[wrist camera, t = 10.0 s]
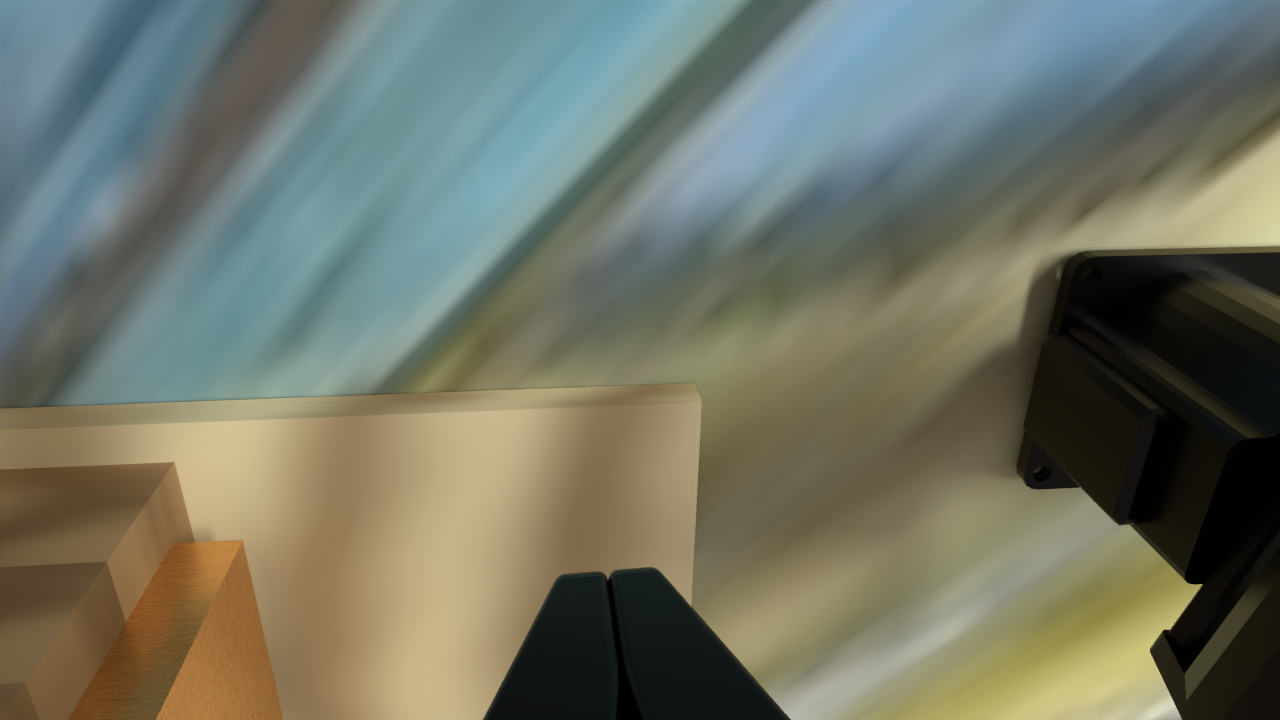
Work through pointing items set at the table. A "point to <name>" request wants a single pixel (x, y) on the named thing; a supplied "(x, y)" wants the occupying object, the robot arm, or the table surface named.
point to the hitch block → (340, 530)
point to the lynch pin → (189, 646)
